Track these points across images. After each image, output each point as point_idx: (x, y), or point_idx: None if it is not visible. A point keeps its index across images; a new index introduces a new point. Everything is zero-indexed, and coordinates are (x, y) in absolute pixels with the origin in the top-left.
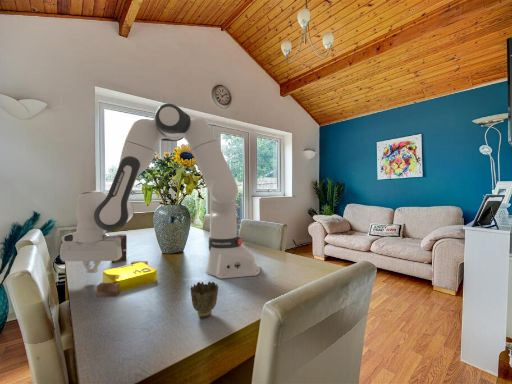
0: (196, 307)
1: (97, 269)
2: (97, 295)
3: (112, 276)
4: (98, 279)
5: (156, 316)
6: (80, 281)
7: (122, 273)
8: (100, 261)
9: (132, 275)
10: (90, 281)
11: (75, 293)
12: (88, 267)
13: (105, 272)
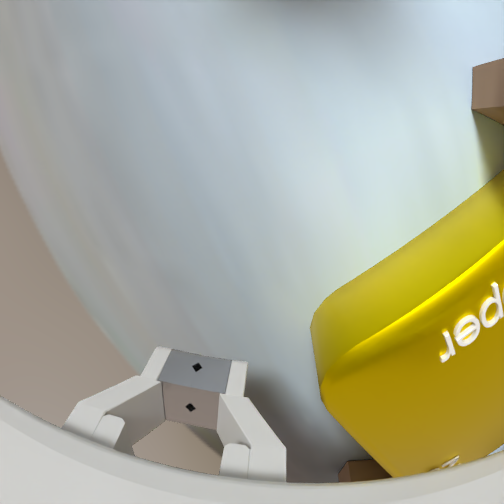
0: None
1: (246, 374)
2: (340, 478)
3: (410, 470)
4: (249, 278)
5: None
6: (123, 293)
7: (467, 432)
8: (285, 462)
9: (498, 442)
10: (202, 311)
11: (220, 446)
12: (158, 418)
13: (355, 426)
